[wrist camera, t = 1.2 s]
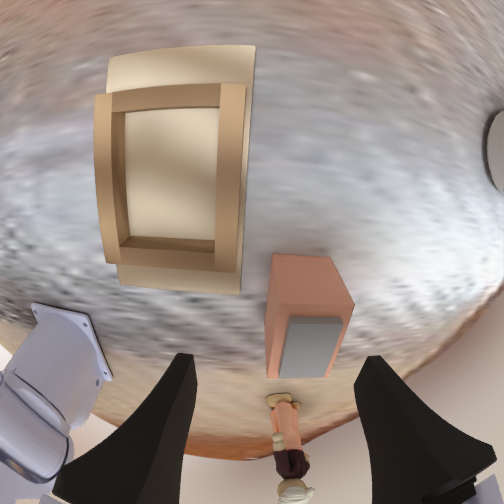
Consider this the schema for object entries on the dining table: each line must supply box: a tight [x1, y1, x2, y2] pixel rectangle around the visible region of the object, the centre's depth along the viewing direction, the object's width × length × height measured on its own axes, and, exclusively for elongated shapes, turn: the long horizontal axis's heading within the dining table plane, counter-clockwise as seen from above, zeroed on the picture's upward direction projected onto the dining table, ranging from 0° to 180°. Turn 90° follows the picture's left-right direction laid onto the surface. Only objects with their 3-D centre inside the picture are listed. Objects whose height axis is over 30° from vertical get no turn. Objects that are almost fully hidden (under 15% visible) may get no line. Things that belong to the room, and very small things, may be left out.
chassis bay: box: [94, 45, 256, 295], centre depth 15 cm, size 16×9×2 cm, turn 176°
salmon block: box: [264, 254, 355, 378], centre depth 17 cm, size 6×4×6 cm, turn 176°
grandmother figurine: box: [266, 393, 315, 504], centre depth 20 cm, size 8×4×13 cm, turn 41°
